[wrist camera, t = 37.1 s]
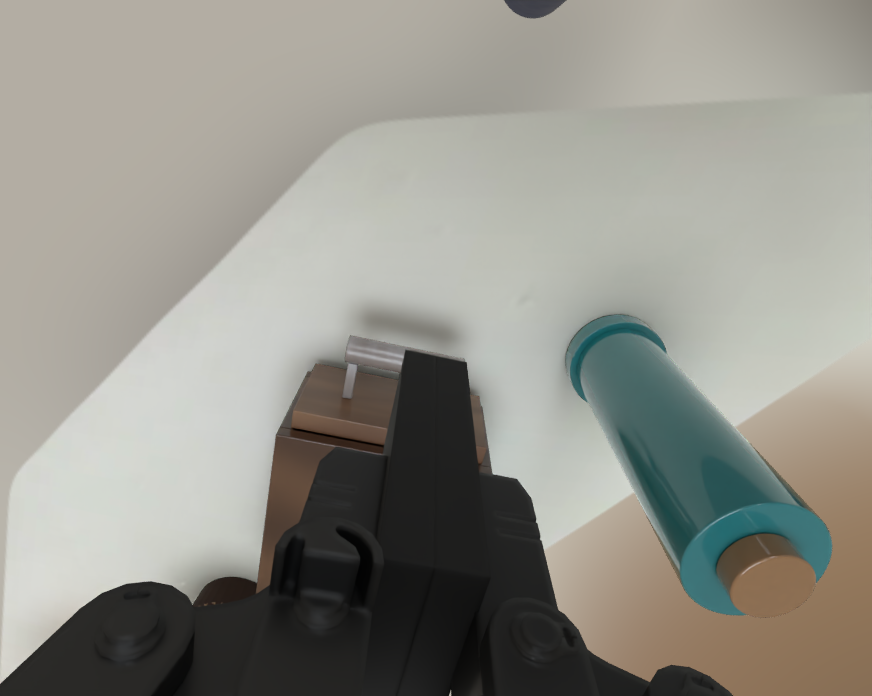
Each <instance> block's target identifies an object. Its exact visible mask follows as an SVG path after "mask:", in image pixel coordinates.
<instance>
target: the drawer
mask: <svg viewBox="0 0 872 696" xmlns="http://www.w3.org/2000/svg"><path fill="white" fill-rule="evenodd" d="M405 350H410V351H415V352H420V353H425V354H429V355H434V356H439V357H444V358H449V359H454V360H458V361H463V362H465V360H464V359H462V358H457V357H452V356H448V355H443V354H438V353H433V352H428V351H424V350H419V349H414V348H409V347H404V346H399V345H395V344H390V343H385V342H380V341H375V340H371V339H366V338H361V337H356V336H350V337H349V340H348V344H347V349H346V354H345V362H348V366H347V370H346V369H341V368H336V367H331V366H326V365H321V364H315V366H314V368H313V370H312V372H311V375H310V377H309V379H308V381H307V383H306V385H305V387H304V389H303V391H302V393H301V395H300V397H299V399H298V401H297V404H296V406H295V408H294V410H293V415H292V422H291V428H296V429H301V430H306V431H307V433H311V434H317V435H322V436H327V437H332V438H337V439H343V440H348V441H353V442H358V443H364V444H369V445H374V446H379V447H384V443H385V439H386V434H387V430H388V425H389V421H390V416H391V412H392V407H393V403H394V398H395V394H396V389H397V385H398V380H395V379H390V378H386V377H381V376H376V375H371V374H366V373H361V372H357V370H358V364H359V365H364V366H369V367H374V368H379V369H384V370H388V371H393V372H398V373H400V371H401V367H402V362H403V358H404V353H405ZM470 397H471V406H472V414H473V423H474V432H475V441H476V450H477V459H478V464H482V462H483V459H484V456H485V453H486V449H487V446H486V439H485V432H484V425H483V418H482V411H481V404H480V397H479V396H474V395H470Z"/></svg>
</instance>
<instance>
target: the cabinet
mask: <svg viewBox="0 0 872 696" xmlns="http://www.w3.org/2000/svg"><path fill="white" fill-rule="evenodd" d="M310 375H311V372H307V374H306V376H305V378H304V380H303V382H302V384H301V386H300V388H299V390H298V392H297V394H296V396H295V398H294V400H293V402H292V404H291V406H290V408H289V410H288V412H287V414H286V416H285V418H284V420H283V422H282V424H281V426H280V428H279V430H278V432H277V434H276V439H275V447H274V455H273V463H272V471H271V479H270V486H269V494H268V502H267V510H266V518H265V526H264V533H263V541H262V549H261V557H260V565H259V573H258V581H257V588H256V594H257V593H258V592H260V591H261V590H263V589H264V588H266V587H267V586H269V585H270V580H271V572H272V565H273V558H274V551H275V545H276V544H277V542H278V541H279V539H280V538H281V536H282V535H283V533H284V532H285V531H286V530H288V529H289V528H291V527H293V526H294V525H296V524H297V523H299V521H300V518H301V515H302V512H303V509H304V506H305V503H306V500H307V498H308V494H309V491H310V488H311V485H312V484H313V479H314V477H315V474H316V471H317V468H318V465H319V462H320V460H321V459H322V458H324V457H325V456H326V455H327V454H328V453H329V452H331V451H332V450H333V449H334V448H335V447H341V448H347V449H352V450H357V451H362V452H368V453H373V454H378V455H383V449H384V447H379V446H374V445H369V444H364V443H358V442H353V441H348V440H343V439H337V438H332V437H327V436H322V435H317V434H311V433H307V431H306V430H301V429H296V428H291V422H292V415H293V410H294V408H295V406H296V404H297V401H298V399H299V397H300V395H301V393H302V391H303V389H304V387H305V385H306V383H307V381H308V379H309V377H310ZM481 411H482V418H483V425H484V432H485V439H486V446H487V449H486V453H485V456H484V459H483V462H482V464H478V467H479V472H483V473H488V474H492V468H491V462H490V455H489V448H488V442H487V435H486V428H485V421H484V415H483V408H482V406H481Z"/></svg>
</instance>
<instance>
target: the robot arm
mask: <svg viewBox="0 0 872 696" xmlns="http://www.w3.org/2000/svg"><path fill="white" fill-rule="evenodd" d="M450 690H451V696H733V695H732V694H731V693H730V692H729V691H728V690H727V689H725V688H724V687H723V686H721V685H720V684H719V683H717V682H716V681H715V680H714V679H712V678H711V677H710V676H708V675H705V674H703V673H701V672H699V671H697V670H694V669H692V668H690V667H683V666H675V665H670V666H667V667H665V668H662V669H659V670H658V671H657V672H656V674H655V675H654V677H653V679H652V680H651V682H648V681H646V680H644V679H642V678H639V677H637V676H635V675H633V674H631V673H629V672H627V671H624V670H623V669H620V668H618V667H616V666H614V665H612V664H609V663H608V662H606V661H604V660H602V659H601V658H599V657H597V656H596V655H594V654H593V653H591V652H590V651H589V650H588V649H587V648H586V645H585V643H584V641H583V639H582V637H581V635H580V632H579V630H578V629H577V628H576V627H575V626H574V624H573V623H572V622H571V621H570V620H569V619H568V618H567V616H566V615H565V614H563V613H562V612H560V611H559V610H558V607H557V604H556V599H555V595H554V591H553V587H552V582H551V578H550V574H549V570H548V566H547V562H546V557H545V554H544V549H543V545H542V541H541V540H540V533H539V528H538V524H537V523H536V516H535V512H534V508H533V503H532V499H531V497H530V496H529V495H528V493H527V492H526V491H525V489H524V488H523V487H522V485H521V484H520V483H519V481H518V480H517V479H514V478H509V477H504V476H498V475H493V474H488V473H483V472H479V467H478V459H477V450H476V441H475V432H474V423H473V414H472V406H471V397H470V388H469V379H468V370H467V362H463V361H458V360H454V359H449V358H444V357H439V356H434V355H429V354H425V353H420V352H415V351H410V350H405V353H404V358H403V362H402V367H401V371H400V376H399V380H398V385H397V389H396V394H395V398H394V403H393V407H392V412H391V416H390V421H389V425H388V430H387V434H386V439H385V443H384V449H383V455H378V454H373V453H368V452H362V451H357V450H352V449H347V448H341V447H335V448H334V449H333V450H332V451H331V452H329V453H328V454H327V455H326V456H325V457H324V458H322V459H321V460H320V462H319V465H318V468H317V471H316V474H315V477H314V479H313V484H312V485H311V488H310V491H309V494H308V498H307V500H306V503H305V506H304V509H303V512H302V515H301V518H300V521H299V523H297V524H296V525H294V526H293V527H291V528H289V529H288V530H286V531H285V532H284V533H283V535H282V536H281V538H280V539H279V541H278V542H277V544H276V545H275V551H274V558H273V565H272V572H271V580H270V585H269V586H267V587H266V588H264V589H263V590H261V591H260V592H258V593H257V594H254V595H252V596H250V597H247V598H245V599H242V600H238V601H233V602H229V603H223V604H214V605H206V606H198V607H193V606H192V604H191V602H190V600H189V598H188V596H187V595H185V594H184V593H182V592H181V591H179V590H178V589H176V588H175V587H173V586H171V585H166V584H161V583H156V582H151V581H150V582H140V583H131V584H125V585H122V586H120V587H117V588H114V589H112V590H109V591H107V592H104V593H102V594H100V595H99V596H97V597H96V598H95V599H93V600H92V601H90V602H89V603H88V604H86V605H85V606H83V607H82V608H80V609H79V610H78V611H77V612H76V613H75V614H74V615H73V616H72V617H71V618H70V619H69V620H68V621H67V622H66V623H65V624H63V625H62V626H61V627H60V628H59V629H58V630H57V631H56V632H55V633H54V634H53V635H52V636H51V637H50V638H49V639H48V640H46V641H45V642H44V643H43V644H42V645H41V646H40V647H39V648H38V649H37V650H36V651H35V652H34V653H33V654H32V655H30V656H29V657H28V658H27V659H26V660H25V661H24V662H23V663H22V664H21V665H20V666H19V667H18V668H17V669H16V670H15V671H13V672H12V673H11V674H10V675H9V676H8V677H7V678H6V679H5V680H4V681H3V682H2V683H1V684H0V696H449V694H450Z"/></svg>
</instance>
